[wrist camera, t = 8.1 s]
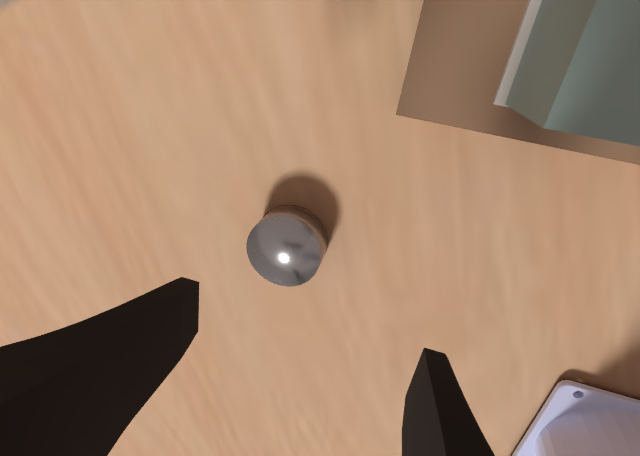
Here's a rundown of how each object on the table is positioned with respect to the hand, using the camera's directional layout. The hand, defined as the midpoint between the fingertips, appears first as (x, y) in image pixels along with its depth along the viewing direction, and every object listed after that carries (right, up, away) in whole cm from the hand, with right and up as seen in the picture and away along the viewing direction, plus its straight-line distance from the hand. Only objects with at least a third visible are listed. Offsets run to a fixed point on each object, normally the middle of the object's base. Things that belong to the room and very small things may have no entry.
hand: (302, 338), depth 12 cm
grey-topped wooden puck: (-1, +3, +10) cm, 10 cm away
